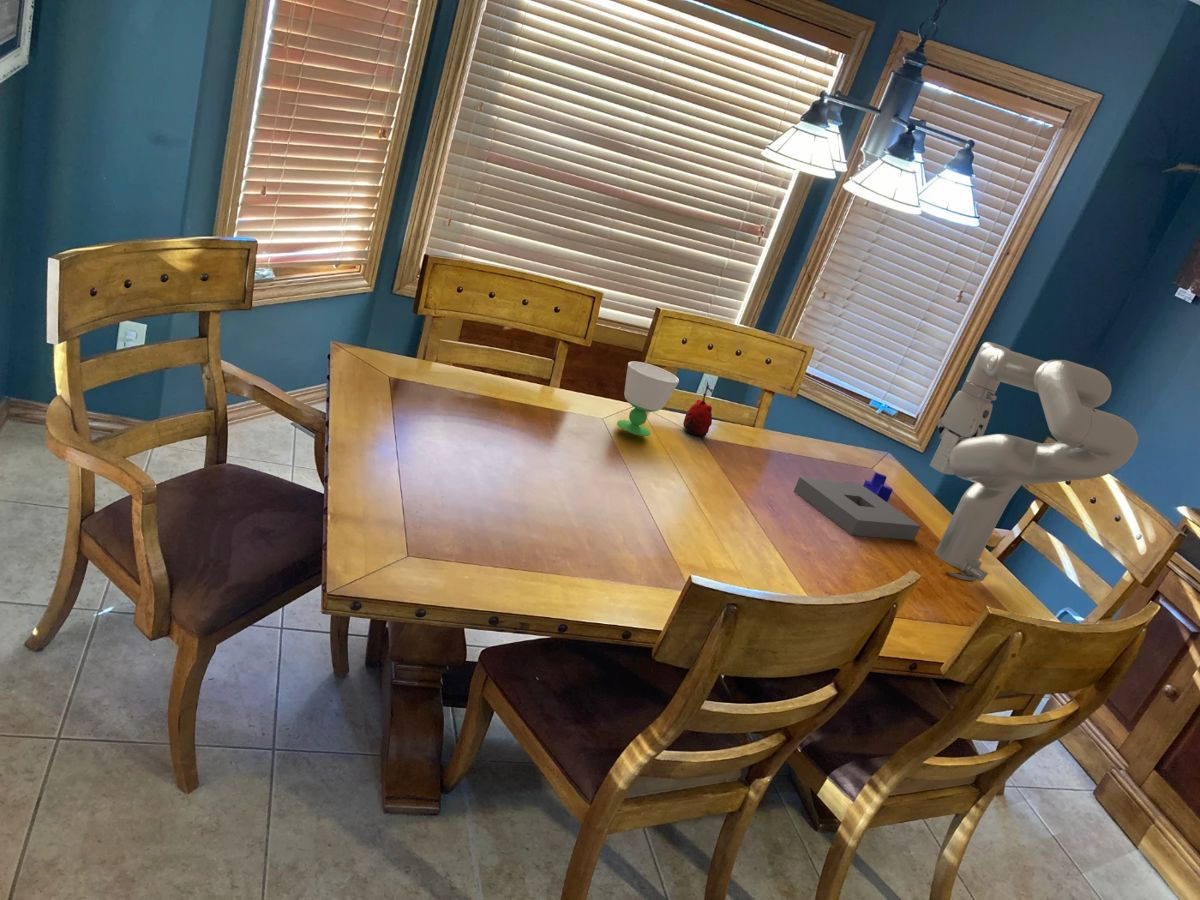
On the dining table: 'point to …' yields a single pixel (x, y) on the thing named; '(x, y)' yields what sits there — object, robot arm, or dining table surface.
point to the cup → (646, 394)
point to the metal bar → (945, 452)
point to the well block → (856, 509)
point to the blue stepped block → (879, 486)
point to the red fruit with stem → (699, 417)
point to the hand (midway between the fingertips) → (946, 458)
